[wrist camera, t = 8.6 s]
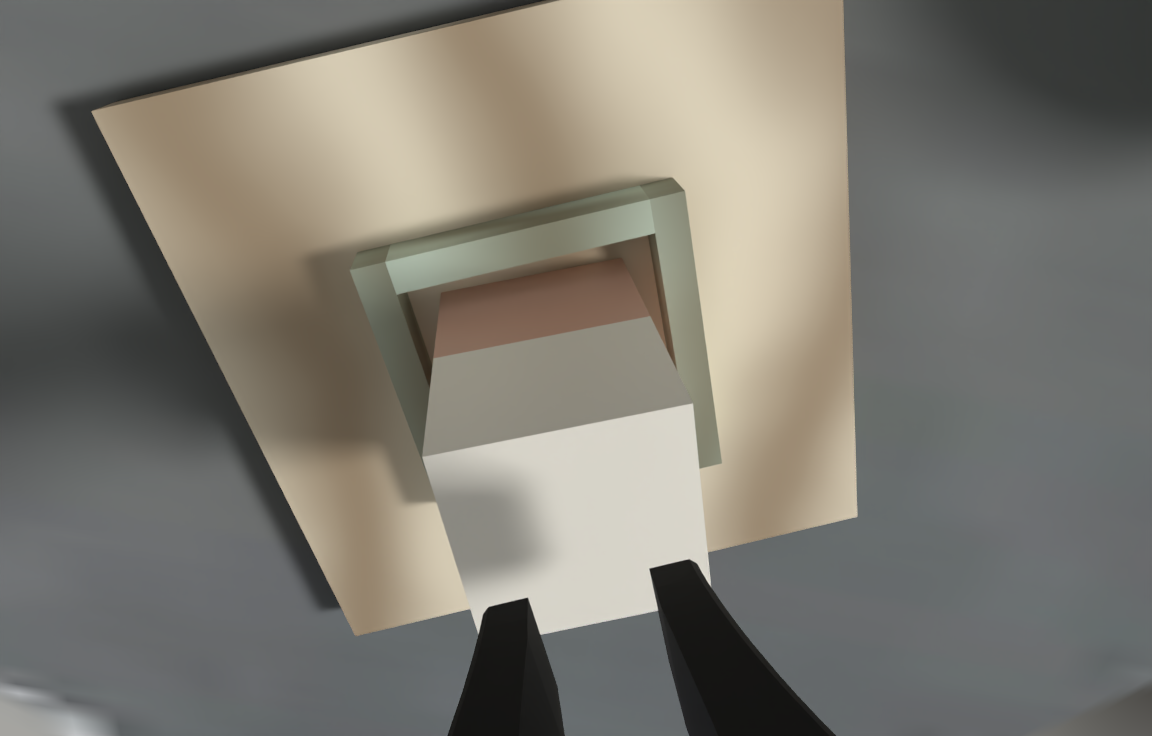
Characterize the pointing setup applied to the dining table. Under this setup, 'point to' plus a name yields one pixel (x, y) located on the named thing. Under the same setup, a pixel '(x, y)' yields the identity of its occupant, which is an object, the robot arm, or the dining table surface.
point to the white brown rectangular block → (561, 446)
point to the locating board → (515, 248)
